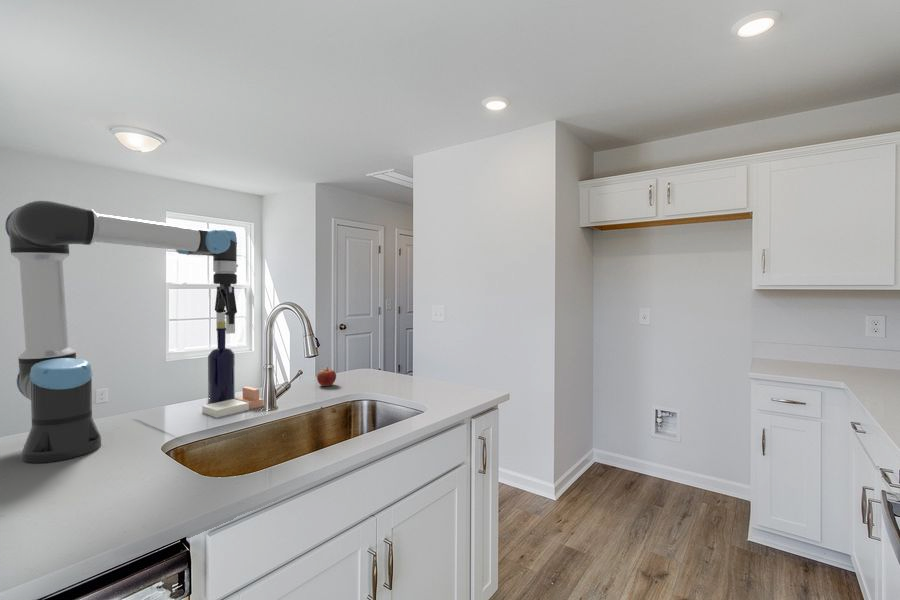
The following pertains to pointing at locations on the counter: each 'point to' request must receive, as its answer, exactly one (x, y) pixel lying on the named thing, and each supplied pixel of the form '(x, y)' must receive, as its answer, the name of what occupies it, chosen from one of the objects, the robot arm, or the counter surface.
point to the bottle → (221, 369)
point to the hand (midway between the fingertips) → (225, 331)
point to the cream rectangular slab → (225, 407)
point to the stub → (251, 397)
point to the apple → (326, 377)
